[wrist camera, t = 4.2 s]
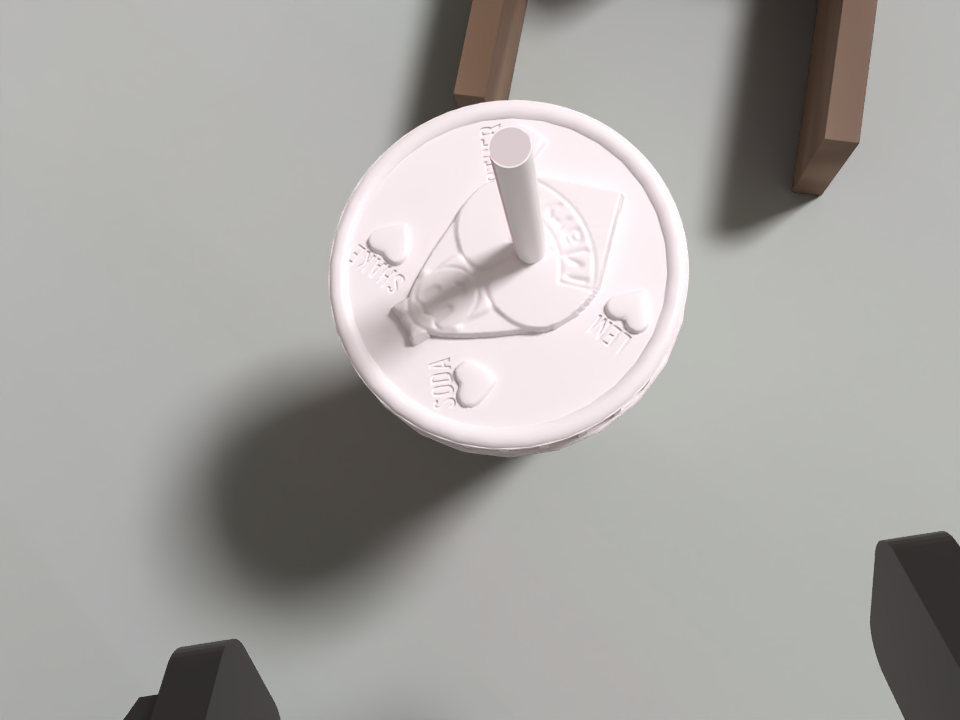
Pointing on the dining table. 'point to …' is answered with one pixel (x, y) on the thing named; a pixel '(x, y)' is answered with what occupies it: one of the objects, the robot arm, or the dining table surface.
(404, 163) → the smoothie
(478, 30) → the keeper
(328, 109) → the dining table surface
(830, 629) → the dining table surface
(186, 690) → the robot arm
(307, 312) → the dining table surface
